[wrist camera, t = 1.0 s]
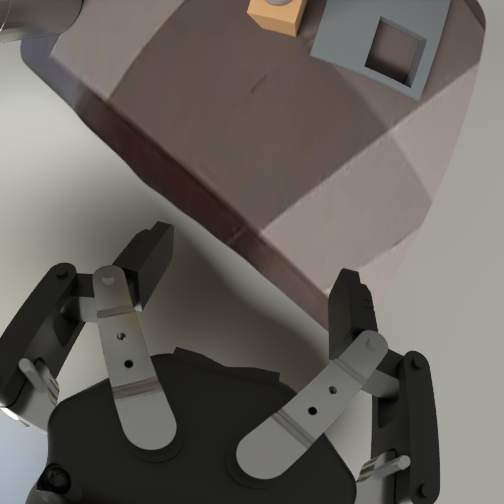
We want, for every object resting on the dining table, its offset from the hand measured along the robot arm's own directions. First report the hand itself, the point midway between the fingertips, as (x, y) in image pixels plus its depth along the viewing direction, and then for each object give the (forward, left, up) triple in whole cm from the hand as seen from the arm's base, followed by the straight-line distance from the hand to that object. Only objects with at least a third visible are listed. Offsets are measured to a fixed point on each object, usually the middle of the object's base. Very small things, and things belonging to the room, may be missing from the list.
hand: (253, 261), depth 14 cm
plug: (+2, +15, -26) cm, 30 cm away
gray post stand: (+14, +14, -26) cm, 33 cm away
